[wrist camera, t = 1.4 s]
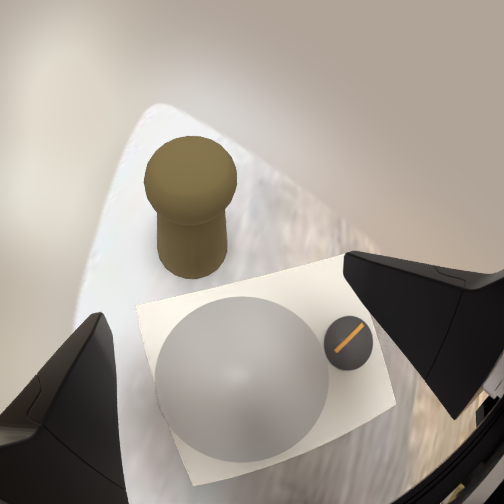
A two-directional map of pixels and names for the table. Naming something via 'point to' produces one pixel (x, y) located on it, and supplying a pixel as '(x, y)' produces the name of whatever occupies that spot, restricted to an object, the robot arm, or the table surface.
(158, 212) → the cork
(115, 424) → the robot arm
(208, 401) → the kitchen scale
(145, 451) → the table surface
